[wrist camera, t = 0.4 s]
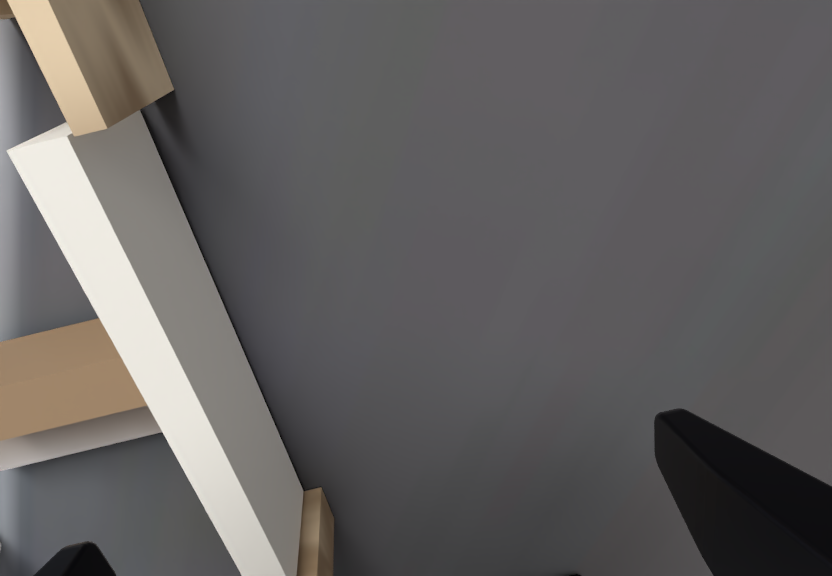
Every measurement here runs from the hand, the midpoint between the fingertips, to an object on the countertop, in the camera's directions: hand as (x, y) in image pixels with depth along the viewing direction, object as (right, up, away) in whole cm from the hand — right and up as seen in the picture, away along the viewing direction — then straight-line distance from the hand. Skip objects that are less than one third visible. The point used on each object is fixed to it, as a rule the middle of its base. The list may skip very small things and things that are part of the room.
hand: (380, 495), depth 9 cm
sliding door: (-11, 0, +14) cm, 18 cm away
